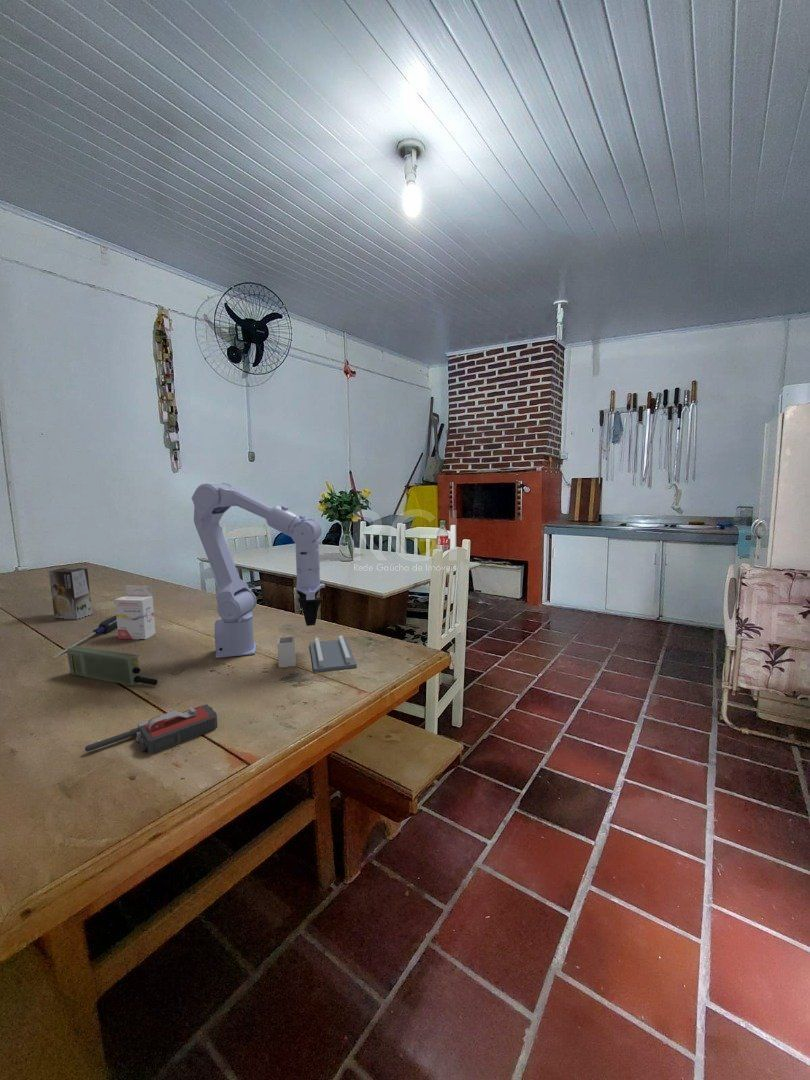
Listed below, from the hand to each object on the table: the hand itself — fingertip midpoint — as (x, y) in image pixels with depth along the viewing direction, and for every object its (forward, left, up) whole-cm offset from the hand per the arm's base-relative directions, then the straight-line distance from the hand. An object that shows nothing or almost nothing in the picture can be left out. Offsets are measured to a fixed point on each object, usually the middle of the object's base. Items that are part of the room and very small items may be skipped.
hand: (309, 620), depth 114 cm
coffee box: (-75, +55, -9) cm, 94 cm away
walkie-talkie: (-28, -32, -10) cm, 43 cm away
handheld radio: (-44, -3, -9) cm, 45 cm away
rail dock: (+5, -3, -9) cm, 11 cm away
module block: (-6, -5, -9) cm, 12 cm away
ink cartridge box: (-48, +27, -9) cm, 56 cm away
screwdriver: (-60, +28, -9) cm, 67 cm away
